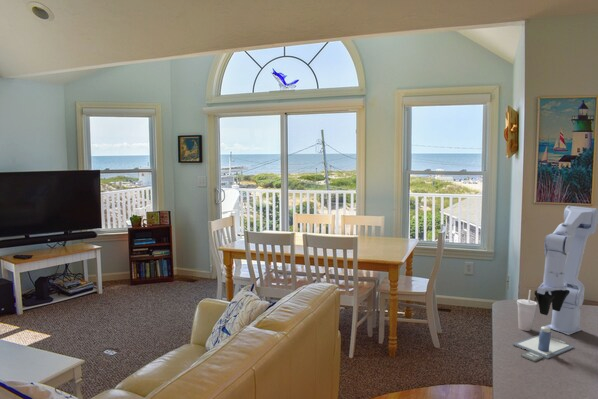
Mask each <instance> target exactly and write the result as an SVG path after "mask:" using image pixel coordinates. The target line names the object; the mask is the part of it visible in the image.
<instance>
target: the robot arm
mask: <svg viewBox="0 0 598 399" xmlns="http://www.w3.org/2000/svg"><path fill="white" fill-rule="evenodd" d="M563 211H564V212H563V221H564V222H561V223H560V224H558V226H557V227H556V228H555V230H554V231H553V232H552V233H549V234H547V235H546V236H545V238H544V242H543V249H544V251H543V252H544V257H545V261H544V271H543V280H542V281H543V282H541V284H540V286H537V290H534V295H535V298H536V300H537V305H538V309H539V314H541V315H543V316H548V315H549V312H550V310H551V308H552V312H551V313H552V314H551V322H550V324H547V325H545V327H549V328H551V330H554V331H556V332H559V333H562V334H565V335H568V336H569V335H571V334H574V333H577V332H580V331H582V330H583V329H582V328H581V327H580V323H581V312H582V311H581V309H580V307H582V305H583V303H584V299H585V290H586V288H585V285H584V284H583V282H581V280H579V279H578V278H579V275H580V271H581V267H582V262H583V259H584V258H583V257H584V253H585V251H586V246H587V241H588V239H589V236H591V235H593V234H595V233H596V230H597V227H598V208H596V207H594V208H593V207H586V206H585V207H583V206H574V205H567V206H565V208H564V210H563ZM551 306H552V307H551ZM550 307H551V308H550Z"/></svg>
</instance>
